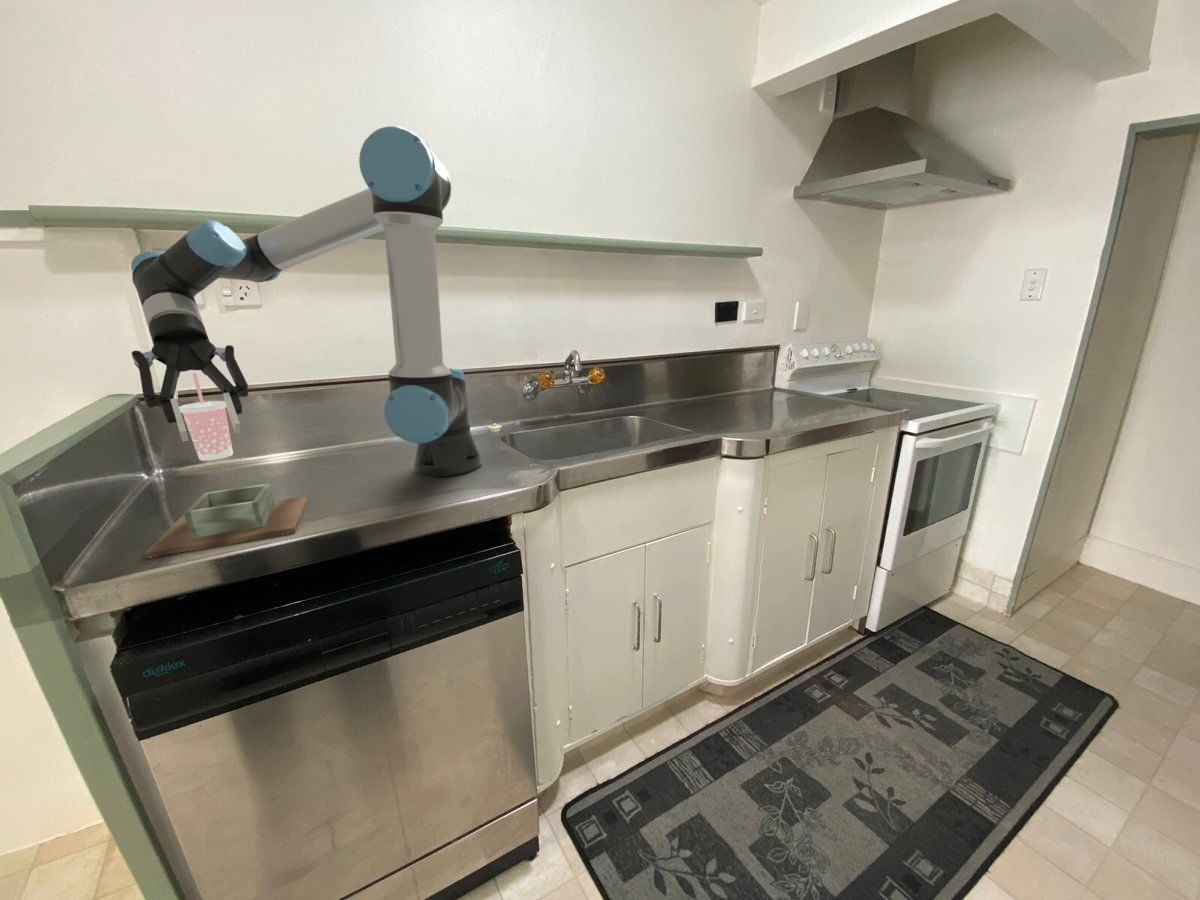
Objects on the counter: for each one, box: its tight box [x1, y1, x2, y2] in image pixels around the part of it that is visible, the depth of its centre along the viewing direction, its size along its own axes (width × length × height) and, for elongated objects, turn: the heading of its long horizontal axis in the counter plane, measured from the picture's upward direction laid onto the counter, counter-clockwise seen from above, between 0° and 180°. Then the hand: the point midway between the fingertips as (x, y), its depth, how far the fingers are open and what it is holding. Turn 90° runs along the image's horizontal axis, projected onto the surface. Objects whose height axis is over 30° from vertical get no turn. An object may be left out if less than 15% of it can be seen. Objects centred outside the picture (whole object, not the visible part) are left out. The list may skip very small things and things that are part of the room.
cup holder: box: [144, 483, 309, 558], centre depth 85 cm, size 20×16×6 cm
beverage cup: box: [179, 372, 234, 462], centre depth 80 cm, size 6×6×14 cm
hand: (211, 432), depth 78 cm, fingers closed on beverage cup, 6 cm apart
